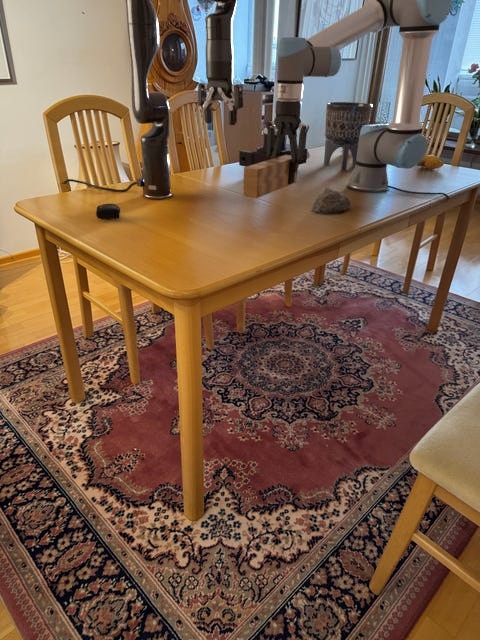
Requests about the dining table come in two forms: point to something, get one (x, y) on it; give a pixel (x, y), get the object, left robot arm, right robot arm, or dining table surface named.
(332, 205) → the rock
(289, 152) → the mechanical component
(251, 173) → the bar
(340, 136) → the planter
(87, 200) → the dining table surface
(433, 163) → the toy
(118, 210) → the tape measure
